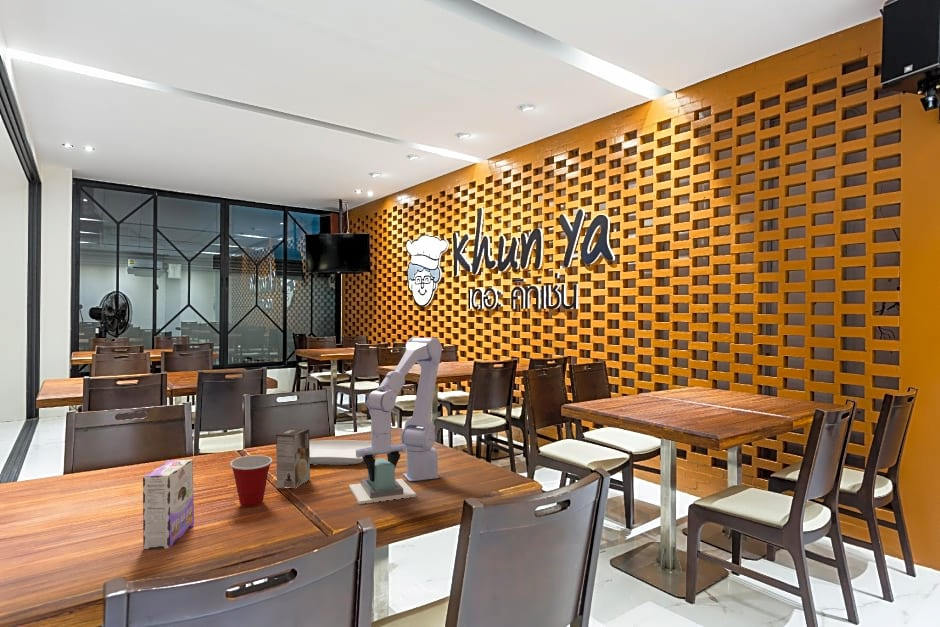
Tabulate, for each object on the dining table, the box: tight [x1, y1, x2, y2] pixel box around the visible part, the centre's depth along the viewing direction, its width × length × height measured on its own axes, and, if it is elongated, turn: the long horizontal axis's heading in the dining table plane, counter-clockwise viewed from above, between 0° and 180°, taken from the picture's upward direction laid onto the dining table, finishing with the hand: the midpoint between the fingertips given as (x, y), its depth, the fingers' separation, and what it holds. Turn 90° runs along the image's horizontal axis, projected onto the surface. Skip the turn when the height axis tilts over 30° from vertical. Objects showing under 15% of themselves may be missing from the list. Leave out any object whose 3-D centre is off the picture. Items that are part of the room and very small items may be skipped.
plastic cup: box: [229, 454, 273, 508], centre depth 154 cm, size 11×11×12 cm
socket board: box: [348, 478, 417, 505], centre depth 163 cm, size 16×16×2 cm
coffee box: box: [275, 428, 311, 489], centre depth 171 cm, size 9×6×16 cm
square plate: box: [309, 439, 371, 466], centre depth 203 cm, size 27×27×4 cm
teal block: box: [367, 458, 396, 491], centre depth 163 cm, size 9×5×7 cm, turn 28°
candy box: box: [142, 458, 195, 550], centre depth 131 cm, size 14×6×16 cm, turn 5°
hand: (381, 479), depth 163 cm, fingers closed on teal block, 5 cm apart
